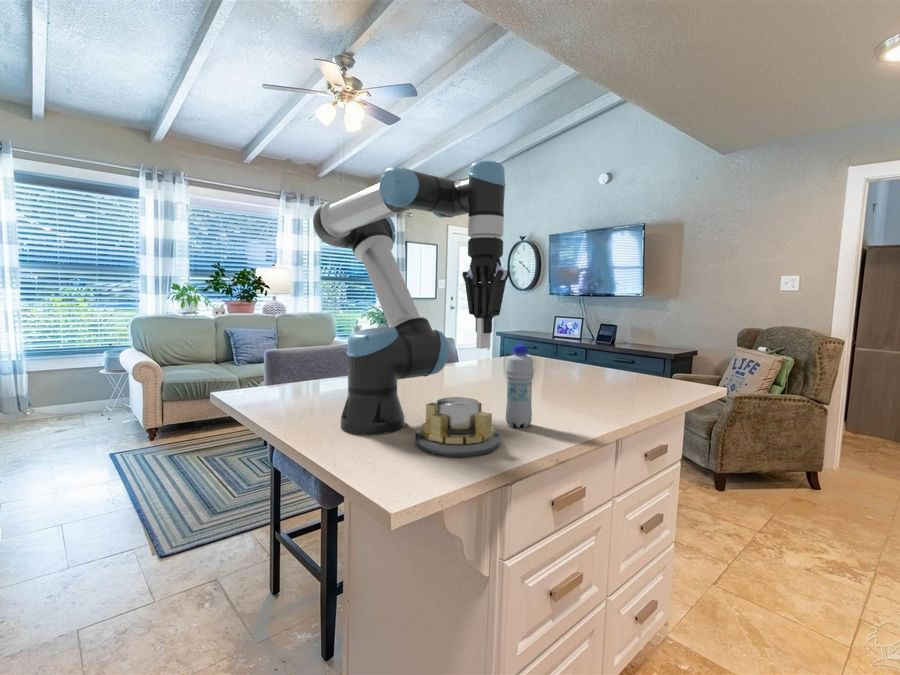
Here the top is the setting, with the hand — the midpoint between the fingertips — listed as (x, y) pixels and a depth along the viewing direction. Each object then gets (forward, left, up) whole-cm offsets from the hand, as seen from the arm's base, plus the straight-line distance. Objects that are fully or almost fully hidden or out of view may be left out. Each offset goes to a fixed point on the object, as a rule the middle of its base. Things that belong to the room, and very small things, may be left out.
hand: (483, 347), depth 99 cm
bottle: (+6, +13, -21) cm, 25 cm away
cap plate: (-4, -5, -20) cm, 21 cm away
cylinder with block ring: (-4, -5, -18) cm, 19 cm away
